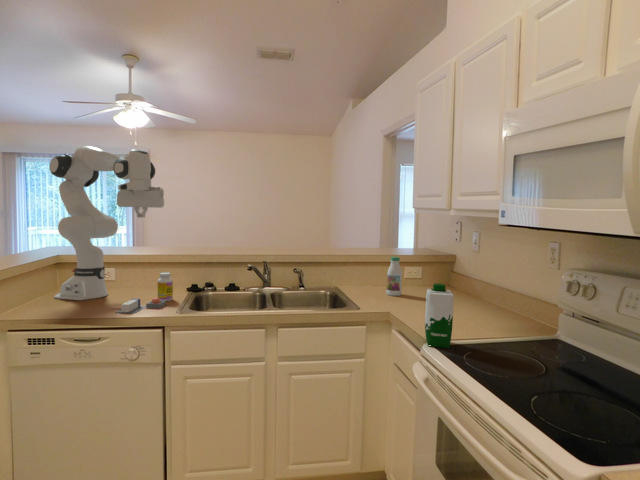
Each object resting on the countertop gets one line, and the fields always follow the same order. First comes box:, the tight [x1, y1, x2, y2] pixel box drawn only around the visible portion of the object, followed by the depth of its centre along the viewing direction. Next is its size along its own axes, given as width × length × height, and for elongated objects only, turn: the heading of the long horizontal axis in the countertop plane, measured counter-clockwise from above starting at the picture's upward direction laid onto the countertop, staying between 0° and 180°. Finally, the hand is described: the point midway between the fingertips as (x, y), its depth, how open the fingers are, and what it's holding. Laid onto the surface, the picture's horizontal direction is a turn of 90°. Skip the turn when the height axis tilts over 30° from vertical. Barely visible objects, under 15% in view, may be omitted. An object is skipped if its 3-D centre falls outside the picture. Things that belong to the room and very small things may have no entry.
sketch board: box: [115, 305, 146, 314], centre depth 167 cm, size 8×11×1 cm
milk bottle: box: [386, 256, 403, 297], centre depth 206 cm, size 8×8×20 cm
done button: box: [151, 297, 160, 303], centre depth 173 cm, size 3×3×3 cm
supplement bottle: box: [157, 272, 174, 302], centre depth 184 cm, size 7×7×13 cm
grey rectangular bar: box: [121, 298, 141, 312], centre depth 167 cm, size 10×3×3 cm, turn 179°
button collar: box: [145, 300, 167, 309], centre depth 173 cm, size 6×6×2 cm
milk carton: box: [424, 283, 454, 349], centre depth 132 cm, size 9×9×20 cm
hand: (141, 217), depth 176 cm, fingers closed
